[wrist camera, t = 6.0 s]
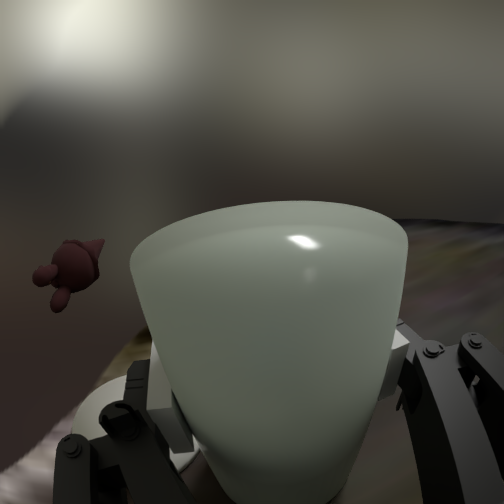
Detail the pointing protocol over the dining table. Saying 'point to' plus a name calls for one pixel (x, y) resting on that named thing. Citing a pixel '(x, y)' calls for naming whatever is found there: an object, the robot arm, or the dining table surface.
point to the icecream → (70, 270)
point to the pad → (102, 396)
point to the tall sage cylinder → (275, 337)
